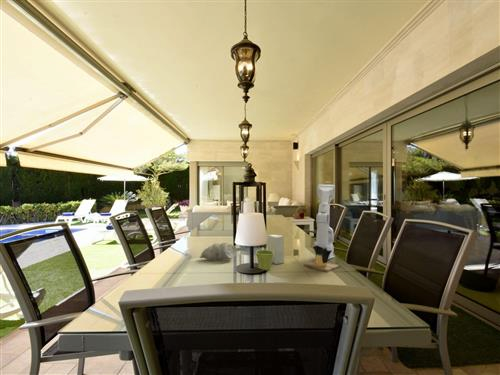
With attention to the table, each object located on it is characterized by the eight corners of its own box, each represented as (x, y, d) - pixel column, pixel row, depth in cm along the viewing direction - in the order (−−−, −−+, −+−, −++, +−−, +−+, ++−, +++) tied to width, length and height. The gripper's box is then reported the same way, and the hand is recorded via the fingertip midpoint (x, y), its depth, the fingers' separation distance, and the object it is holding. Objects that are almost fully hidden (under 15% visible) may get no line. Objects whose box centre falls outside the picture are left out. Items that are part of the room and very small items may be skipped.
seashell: (198, 261, 155) (199, 243, 155) (213, 255, 168) (214, 239, 168) (223, 265, 147) (223, 246, 147) (237, 259, 160) (237, 242, 160)
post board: (316, 261, 160) (316, 254, 160) (339, 267, 150) (339, 259, 150) (303, 266, 151) (303, 258, 151) (327, 272, 141) (327, 264, 141)
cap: (315, 265, 149) (316, 255, 149) (316, 262, 154) (316, 253, 154) (326, 266, 147) (326, 256, 147) (326, 263, 152) (327, 253, 152)
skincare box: (284, 263, 155) (285, 236, 155) (275, 264, 152) (276, 237, 152) (274, 259, 162) (275, 233, 162) (266, 260, 159) (267, 234, 159)
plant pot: (268, 273, 137) (268, 255, 137) (251, 269, 142) (252, 252, 142) (276, 268, 144) (277, 251, 144) (260, 265, 149) (261, 249, 149)
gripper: (309, 233, 156) (308, 258, 156) (322, 238, 142) (322, 265, 142) (320, 233, 158) (320, 257, 158) (335, 238, 144) (334, 264, 144)
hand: (321, 261), depth 151 cm, fingers closed on cap, 6 cm apart
